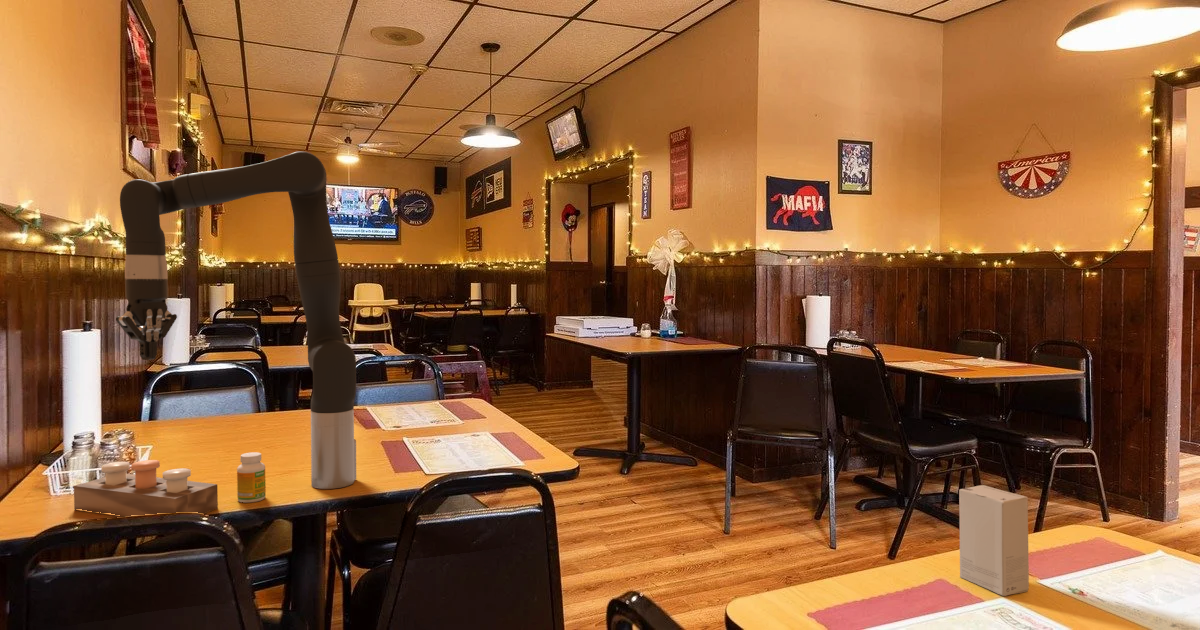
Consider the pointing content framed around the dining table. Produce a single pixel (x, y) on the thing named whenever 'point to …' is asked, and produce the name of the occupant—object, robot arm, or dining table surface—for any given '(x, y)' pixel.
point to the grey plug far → (115, 472)
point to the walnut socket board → (144, 498)
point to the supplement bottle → (251, 478)
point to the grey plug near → (176, 479)
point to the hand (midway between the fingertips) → (148, 359)
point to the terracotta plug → (145, 473)
